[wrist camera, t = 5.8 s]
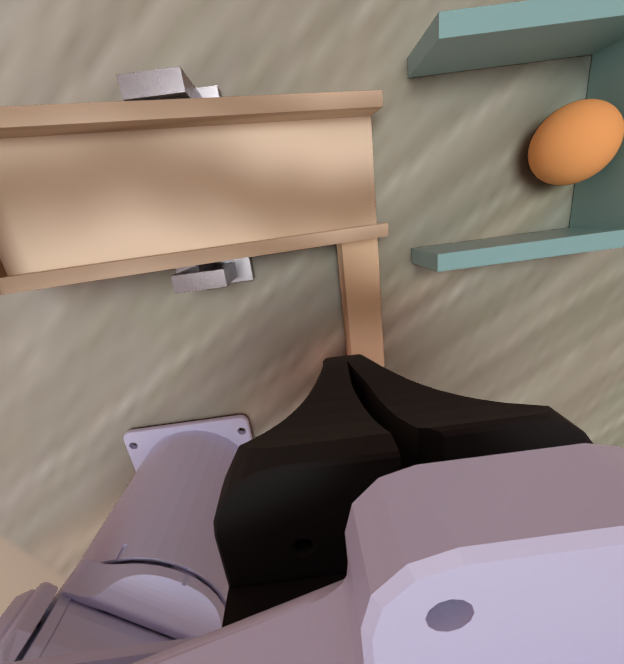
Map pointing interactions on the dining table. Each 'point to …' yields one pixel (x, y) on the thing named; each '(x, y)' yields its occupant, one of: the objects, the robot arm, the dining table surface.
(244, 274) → the fulcrum
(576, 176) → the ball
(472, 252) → the teal u-shaped frame
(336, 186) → the lever
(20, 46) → the dining table surface
